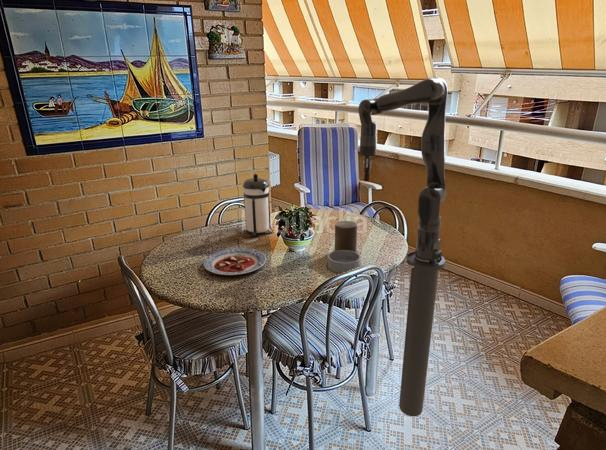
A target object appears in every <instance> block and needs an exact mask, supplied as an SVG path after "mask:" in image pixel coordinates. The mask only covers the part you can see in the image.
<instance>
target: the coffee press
mask: <svg viewBox="0 0 606 450" xmlns="http://www.w3.org/2000/svg"><path fill="white" fill-rule="evenodd" d="M242 188H243V207H244V217H245V218H244V219H245V228H244V229H243V231H244V232H245V233H247V232H249V233H252V235H253V238H257V236H258V234H262V233H265V232H269V233H270V234H272V233H273V232H274V230H273V228H272V226H271V205H270V204H271V203H270V190H269V188H270V183H269V181H268V180H267V179H265V178H262V177H259V175H258V174H257V173H254V174H253V176H252V177H251V178H247V179H246V180H244V182H243V184H242Z"/></svg>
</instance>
